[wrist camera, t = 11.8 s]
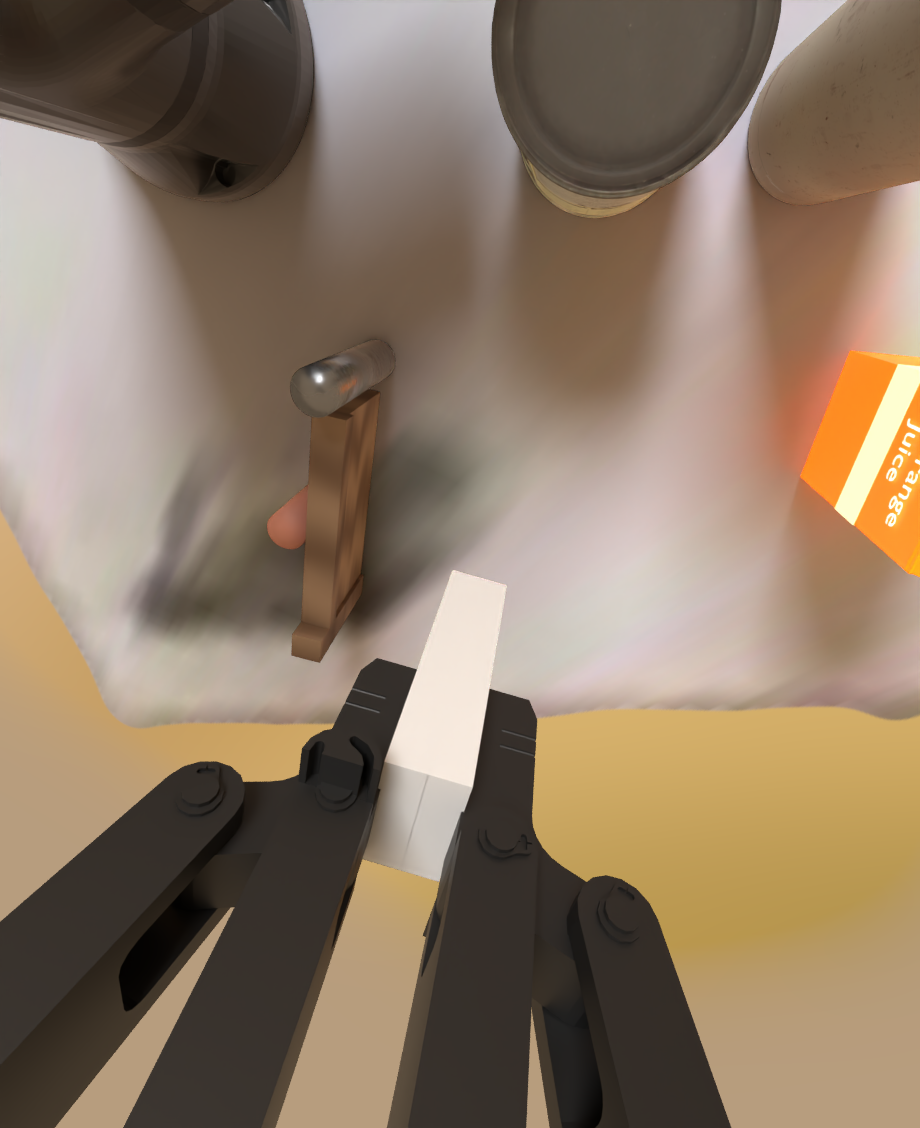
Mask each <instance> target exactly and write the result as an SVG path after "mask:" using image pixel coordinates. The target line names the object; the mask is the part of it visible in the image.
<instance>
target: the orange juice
mask: <svg viewBox="0 0 920 1128" xmlns="http://www.w3.org/2000/svg"><path fill="white" fill-rule="evenodd" d="M800 477H801V478H802V479H803V480H804V481H806V482H807V483H808V484H809V485H810V486H811V487H812V488H813V489H814V490H816V491H817V492H818V493H819V494H820V495H821V496H822V497H823V498H825V499H826V500H827V501H828V502H829V503H830V504H831V505H832V506H833V507H835V510H836V511H838V512H839V513H840V514H841V515H842V516H843V517H844V518H845V519H846V520H848V521H849V522H850V523H851V524H852V525H855V526H856V527H857V528H858V529H859V530H860V531H861V532H862V533H864V534H865V535H866V536H867V537H868V538H869V539H870V540H871V541H873V542H874V543H875V544H876V545H877V546H878V547H879V548H880V549H881V550H883V551H884V552H885V553H886V554H887V555H888V556H889V557H890V558H892V559H893V560H894V561H895V562H896V563H897V564H898V565H899V566H900V567H902V568H903V569H904V570H905V571H906V572H907V573H908V574H914V575H916V576H918V577H920V358H919V357H909V356H900V355H890V354H880V353H870V352H861V351H851V350H850V352H849V355H848V357H847V360H846V362H845V365H844V367H843V370H842V372H841V375H840V377H839V380H838V383H837V385H836V388H835V390H834V393H833V395H832V398H831V400H830V403H829V405H828V408H827V410H826V413H825V415H824V418H823V420H822V423H821V425H820V428H819V430H818V433H817V436H816V438H815V441H814V443H813V446H812V448H811V451H810V453H809V456H808V458H807V461H806V463H805V466H804V468H803V471H802V473H801V476H800Z"/></svg>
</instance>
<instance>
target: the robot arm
mask: <svg viewBox="0 0 920 1128" xmlns="http://www.w3.org/2000/svg"><path fill="white" fill-rule="evenodd" d="M312 89H313V52H312V43H311V36H310V30H309V24H308V20H307V15H306V12H305V8H304V4H303V1H302V0H0V118H3V119H7V120H11V121H15V122H19V123H23V124H27V125H30V126H34V127H38V128H42V129H46V130H50V131H54V132H58V133H62V134H66V135H70V136H74V137H78V138H82V139H86V140H90V141H94V142H97V143H98V144H100V145H101V146H102V147H103V148H105V149H106V150H107V151H108V152H110V153H111V154H112V155H113V156H115V157H116V158H117V159H118V160H119V161H121V162H122V163H123V164H124V165H126V166H127V167H128V168H129V169H131V170H132V171H133V172H134V173H136V174H137V175H139V176H140V177H141V178H143V179H144V180H146V181H148V182H149V183H151V184H153V185H155V186H157V187H159V188H161V189H163V190H165V191H168V192H170V193H173V194H176V195H179V196H183V197H187V198H192V199H198V200H203V201H210V202H228V201H234V200H238V199H242V198H245V197H248V196H250V195H252V194H254V193H256V192H258V191H260V190H261V189H263V188H264V187H266V186H267V185H268V184H270V183H271V182H272V181H273V180H274V179H275V178H276V177H277V176H278V175H279V174H280V173H281V172H282V170H283V169H284V168H285V167H286V165H287V164H288V162H289V161H290V159H291V158H292V156H293V154H294V152H295V151H296V149H297V147H298V144H299V142H300V140H301V137H302V135H303V132H304V129H305V126H306V123H307V119H308V115H309V110H310V104H311V98H312ZM506 588H507V585H505V584H501V583H497V582H494V581H490V580H487V579H483V578H480V577H476V576H472V575H469V574H465V573H462V572H458V571H455V570H452V573H451V576H450V579H449V581H448V584H447V587H446V590H445V593H444V595H443V598H442V601H441V604H440V607H439V610H438V612H437V615H436V618H435V621H434V624H433V626H432V629H431V632H430V635H429V638H428V640H427V643H426V646H425V649H424V652H423V654H422V657H421V660H420V663H419V666H418V668H417V669H413V668H410V667H406V666H403V665H399V664H396V663H392V662H389V661H385V660H382V659H378V658H377V659H375V660H374V661H373V662H371V663H370V664H369V665H367V666H366V667H365V668H363V669H362V670H361V671H360V673H359V675H358V677H357V679H356V681H355V683H354V685H353V688H352V690H351V692H350V694H349V696H348V698H347V700H346V702H345V704H344V706H343V708H342V710H341V712H340V714H339V716H338V718H337V720H336V722H335V724H334V726H333V728H332V729H330V730H324V731H322V732H320V733H319V734H317V735H315V736H313V737H311V738H310V739H309V741H308V742H307V743H306V744H305V746H304V747H303V748H302V753H301V763H300V770H299V775H297V776H295V777H292V778H289V779H286V780H282V781H272V782H243V781H242V777H241V775H240V774H238V772H236V771H235V770H234V769H233V768H232V767H231V766H228V765H225V764H222V763H219V762H197V763H194V764H191V765H187V766H184V767H182V768H180V769H179V770H177V771H176V772H174V773H172V774H171V775H169V776H168V777H167V778H165V779H164V780H163V781H162V782H161V783H160V784H159V785H157V786H156V787H155V788H154V789H153V790H152V791H150V792H149V793H148V794H147V795H146V796H145V797H144V798H142V799H141V800H140V801H139V802H138V803H137V804H136V805H134V806H133V807H132V808H131V809H130V810H129V811H127V812H126V813H125V814H124V815H123V816H122V817H121V818H119V819H118V820H117V821H116V822H115V823H114V824H112V825H111V826H110V827H109V828H108V829H107V830H106V831H105V832H103V833H102V834H101V835H100V836H99V837H97V838H96V839H95V840H94V841H93V842H92V843H91V844H89V845H88V846H87V847H86V848H85V849H84V850H83V851H81V852H80V853H79V854H78V855H77V856H76V857H74V858H73V859H72V860H71V861H70V862H69V863H68V864H66V865H65V866H64V867H63V868H62V869H61V870H59V871H58V872H57V873H56V874H55V875H54V876H53V877H51V878H50V879H49V880H48V881H47V882H46V883H44V884H43V885H42V886H41V887H40V888H39V889H38V890H36V891H35V892H34V893H33V894H32V895H31V896H30V897H29V898H27V899H26V900H25V901H24V902H23V903H21V904H20V905H19V906H18V907H17V908H16V909H14V910H13V911H12V912H11V913H10V914H9V915H8V916H6V917H5V918H4V919H3V920H2V921H1V922H0V1128H55V1127H56V1125H57V1124H58V1123H59V1122H60V1120H61V1119H62V1118H63V1117H64V1115H65V1114H66V1113H67V1112H68V1110H69V1109H70V1108H71V1107H72V1105H73V1104H74V1103H75V1102H76V1100H77V1099H78V1098H79V1097H80V1095H81V1094H82V1093H83V1092H84V1090H85V1089H86V1088H87V1087H88V1085H89V1084H90V1083H91V1082H92V1080H93V1079H94V1078H95V1076H96V1075H97V1074H98V1073H99V1072H100V1070H101V1069H102V1068H103V1067H104V1065H105V1064H106V1063H107V1062H108V1060H109V1059H110V1058H111V1057H112V1055H113V1054H114V1053H115V1052H116V1050H117V1049H118V1048H119V1047H120V1045H121V1044H122V1043H123V1042H124V1040H125V1039H126V1038H127V1037H128V1035H129V1034H130V1032H132V1030H133V1029H134V1028H135V1026H136V1025H137V1024H138V1023H139V1021H140V1020H141V1019H142V1018H143V1016H144V1015H145V1014H146V1013H147V1011H148V1010H149V1009H150V1008H151V1006H152V1005H153V1004H154V1003H155V1001H156V1000H157V999H158V998H159V996H160V995H161V994H162V993H163V991H164V990H165V989H166V988H167V986H168V985H169V984H170V983H171V981H172V980H173V979H174V978H175V976H176V975H177V974H178V973H179V971H180V970H181V969H182V968H183V966H184V965H185V964H186V963H187V961H188V960H189V959H190V958H191V956H192V955H193V954H194V953H195V951H196V950H197V949H198V947H199V946H200V945H201V944H202V943H203V941H204V940H205V939H206V938H207V936H208V935H209V934H210V933H211V931H212V930H213V929H214V928H215V926H216V925H217V924H218V923H219V921H220V920H221V919H222V918H223V916H224V915H225V914H226V913H227V911H228V910H229V909H230V908H231V907H235V908H234V909H233V911H232V914H231V916H230V918H229V919H228V921H227V924H226V926H225V927H224V929H223V931H222V933H221V936H220V937H219V939H218V941H217V943H216V945H215V947H214V949H213V951H212V953H211V955H210V957H209V959H208V961H207V963H206V965H205V967H204V969H203V971H202V973H201V975H200V977H199V979H198V981H197V983H196V985H195V987H194V989H193V991H192V993H191V995H190V997H189V999H188V1001H187V1003H186V1005H185V1007H184V1008H183V1010H182V1013H181V1014H180V1016H179V1019H178V1020H177V1022H176V1024H175V1026H174V1028H173V1030H172V1032H171V1034H170V1036H169V1038H168V1040H167V1042H166V1044H165V1046H164V1048H163V1050H162V1052H161V1054H160V1056H159V1058H158V1060H157V1062H156V1064H155V1066H154V1068H153V1070H152V1072H151V1074H150V1076H149V1078H148V1080H147V1082H146V1084H145V1086H144V1088H143V1090H142V1092H141V1094H140V1096H139V1098H138V1100H137V1102H136V1104H135V1106H134V1107H133V1110H132V1112H131V1113H130V1115H129V1117H128V1119H127V1121H126V1123H125V1125H124V1127H123V1128H275V1127H276V1124H277V1121H278V1118H279V1115H280V1112H281V1109H282V1106H283V1103H284V1100H285V1097H286V1093H287V1091H288V1088H289V1085H290V1082H291V1079H292V1076H293V1073H294V1070H295V1067H296V1063H297V1061H298V1058H299V1054H300V1051H301V1048H302V1045H303V1042H304V1039H305V1036H306V1033H307V1030H308V1027H309V1024H310V1021H311V1018H312V1015H313V1011H314V1009H315V1006H316V1002H317V1000H318V997H319V994H320V990H321V988H322V985H323V982H324V979H325V975H326V972H327V969H328V966H329V963H330V960H331V957H332V954H333V951H334V948H335V945H336V942H337V939H338V936H339V933H340V930H341V927H342V924H343V921H344V918H345V914H346V911H347V908H348V905H349V902H350V899H351V896H352V893H353V890H354V886H355V881H356V877H357V873H358V870H359V867H360V864H361V861H362V859H364V860H367V861H371V862H374V863H377V864H381V865H384V866H387V867H391V868H394V869H397V870H401V871H404V872H408V873H411V874H414V875H418V876H421V877H424V878H428V879H431V880H434V881H438V882H439V880H440V883H439V888H438V893H437V898H436V901H435V903H434V906H433V909H432V912H431V914H430V917H429V920H428V923H427V926H426V928H425V931H424V934H423V936H425V937H426V940H425V945H424V950H423V954H422V959H421V964H420V969H419V974H418V979H417V984H416V988H415V994H414V999H413V1003H412V1008H411V1013H410V1018H409V1023H408V1028H407V1032H406V1038H405V1042H404V1048H403V1052H402V1057H401V1062H400V1067H399V1072H398V1077H397V1082H396V1086H395V1091H394V1096H393V1101H392V1106H391V1111H390V1116H389V1121H388V1126H387V1128H526V1117H527V1095H528V1072H529V1049H530V1026H531V1007H532V1014H533V1020H534V1027H535V1033H536V1040H537V1047H538V1053H539V1060H540V1067H541V1073H542V1080H543V1086H544V1093H545V1099H546V1106H547V1113H548V1119H549V1126H550V1128H731V1126H730V1123H729V1120H728V1117H727V1115H726V1112H725V1109H724V1106H723V1103H722V1100H721V1098H720V1095H719V1092H718V1089H717V1086H716V1083H715V1081H714V1078H713V1075H712V1072H711V1069H710V1066H709V1064H708V1061H707V1058H706V1055H705V1052H704V1049H703V1046H702V1044H701V1041H700V1038H699V1035H698V1032H697V1029H696V1027H695V1024H694V1021H693V1018H692V1015H691V1012H690V1010H689V1007H688V1004H687V1001H686V998H685V995H684V993H683V990H682V987H681V984H680V981H679V978H678V976H677V973H676V970H675V968H674V964H673V962H672V958H671V956H670V953H669V950H668V947H667V944H666V942H665V939H664V936H663V933H662V930H661V927H660V924H659V922H658V919H657V917H656V915H655V913H654V912H653V909H652V908H651V906H650V904H649V902H648V901H647V900H646V899H645V898H644V897H643V896H642V895H641V893H640V892H639V891H638V890H637V889H636V888H634V887H633V886H631V885H629V884H628V883H626V882H625V881H623V880H622V879H618V878H614V877H610V876H606V875H605V876H599V877H593V878H592V879H590V880H589V881H588V882H585V881H584V880H583V879H581V878H580V877H578V876H576V875H575V874H573V873H572V872H570V871H569V870H567V869H565V868H564V867H563V866H561V865H560V864H559V863H557V862H556V861H555V860H554V859H552V858H551V857H550V856H549V855H548V853H547V852H546V851H545V850H544V849H543V848H542V846H541V844H540V842H539V841H538V839H537V837H536V834H535V831H534V828H533V824H532V804H533V787H534V767H535V758H534V757H535V750H536V742H535V741H536V731H537V730H536V729H537V718H536V715H535V713H534V711H533V708H532V706H531V704H530V701H529V700H527V699H523V698H520V697H516V696H513V695H509V694H506V693H502V692H499V691H495V690H492V689H489V688H490V683H491V677H492V671H493V665H494V659H495V653H496V647H497V641H498V635H499V630H500V624H501V618H502V612H503V606H504V600H505V594H506ZM440 877H441V878H440Z"/></svg>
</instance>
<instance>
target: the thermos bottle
mask: <svg viewBox="0 0 920 1128" xmlns="http://www.w3.org/2000/svg"><path fill="white" fill-rule="evenodd" d="M748 152H749V160H750V163H751V167H752V170H753V173H754V175H755V177H756V178H757V180H758V182H759V183H760V185H761V186H762V187H763V188H764V189H765V190H766V191H767V192H768V193H769V194H770V195H771V196H773V197H775V198H776V199H778V200H780V201H782V202H785V203H789V204H793V205H814V204H820V203H825V202H829V201H834V200H838V199H842V198H847V197H851V196H855V195H859V194H864V193H868V192H872V191H877V190H881V189H885V188H889V187H893V186H898V185H902V184H906V183H911V182H915V181H919V180H920V0H847V1H846V2H845V3H844V4H843V5H842V6H841V7H840V8H839V9H838V10H837V11H835V12H834V13H833V14H832V15H831V16H830V17H829V18H828V19H827V20H826V21H825V22H824V23H822V24H821V25H820V26H819V27H818V28H817V29H816V30H815V31H814V32H813V33H812V34H810V35H809V36H808V37H807V38H806V39H805V40H804V41H803V42H802V43H801V44H800V45H799V46H797V47H796V48H795V49H794V50H793V51H792V52H791V53H790V54H789V55H788V56H787V57H786V58H785V59H784V60H783V61H782V62H781V63H780V64H779V66H778V67H777V68H776V69H775V71H774V72H773V73H772V74H771V76H770V77H769V79H768V80H767V82H766V84H765V86H764V87H763V89H762V91H761V93H760V95H759V97H758V100H757V102H756V105H755V107H754V110H753V113H752V117H751V121H750V126H749V134H748Z"/></svg>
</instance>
